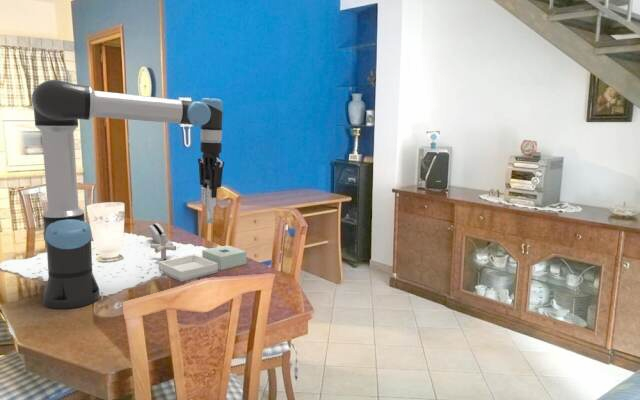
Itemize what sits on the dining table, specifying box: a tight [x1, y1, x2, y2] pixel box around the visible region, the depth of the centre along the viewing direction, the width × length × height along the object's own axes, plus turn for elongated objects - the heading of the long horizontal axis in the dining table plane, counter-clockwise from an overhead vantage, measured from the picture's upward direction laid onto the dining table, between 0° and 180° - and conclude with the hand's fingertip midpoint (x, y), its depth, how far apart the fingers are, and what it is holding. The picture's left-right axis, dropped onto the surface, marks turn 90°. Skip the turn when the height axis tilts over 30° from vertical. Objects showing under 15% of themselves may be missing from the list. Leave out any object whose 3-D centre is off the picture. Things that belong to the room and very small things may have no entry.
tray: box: [158, 254, 219, 283], centre depth 172 cm, size 15×15×4 cm
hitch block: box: [201, 244, 247, 271], centre depth 183 cm, size 12×12×5 cm
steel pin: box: [205, 179, 214, 224], centre depth 175 cm, size 4×4×16 cm
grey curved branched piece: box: [148, 222, 174, 246], centre depth 207 cm, size 17×5×10 cm, turn 32°
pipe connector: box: [150, 233, 177, 260], centre depth 184 cm, size 10×10×10 cm
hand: (209, 205), depth 175 cm, fingers closed on steel pin, 2 cm apart
